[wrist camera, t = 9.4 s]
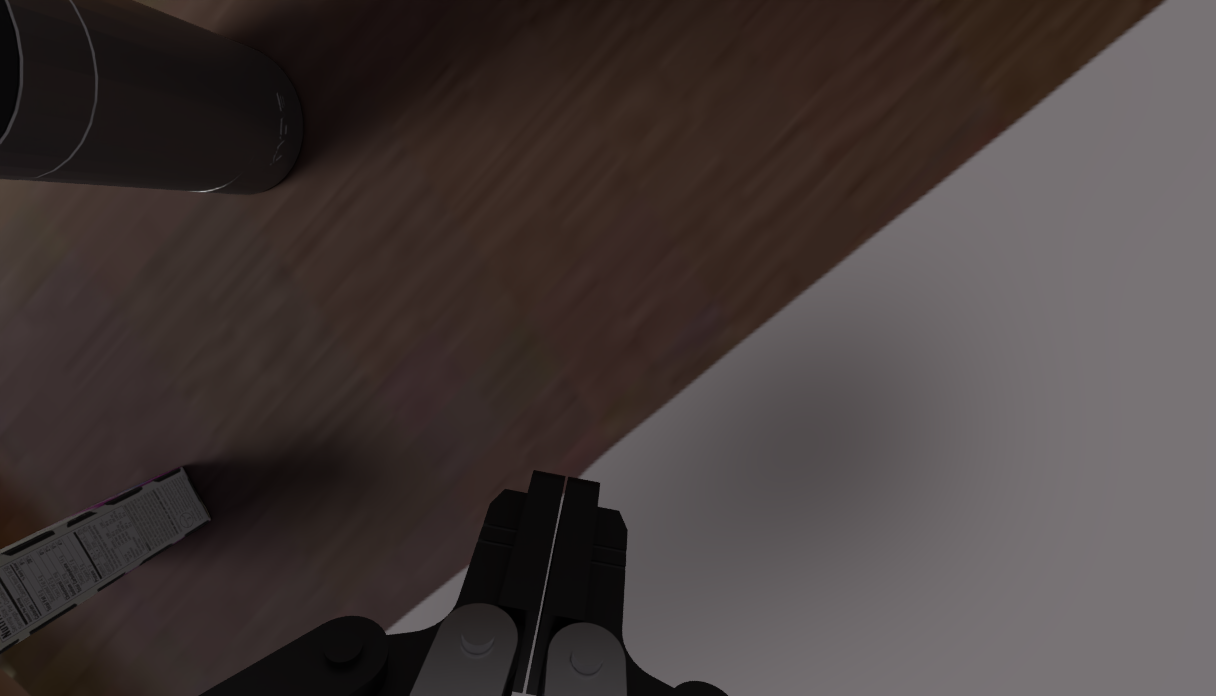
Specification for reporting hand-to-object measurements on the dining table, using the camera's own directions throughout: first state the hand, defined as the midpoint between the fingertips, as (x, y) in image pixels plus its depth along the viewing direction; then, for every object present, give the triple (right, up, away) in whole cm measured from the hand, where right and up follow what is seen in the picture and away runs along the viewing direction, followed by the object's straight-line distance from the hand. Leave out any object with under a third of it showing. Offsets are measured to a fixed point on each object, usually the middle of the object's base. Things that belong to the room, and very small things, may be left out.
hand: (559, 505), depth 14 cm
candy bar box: (-34, -9, +34) cm, 49 cm away
